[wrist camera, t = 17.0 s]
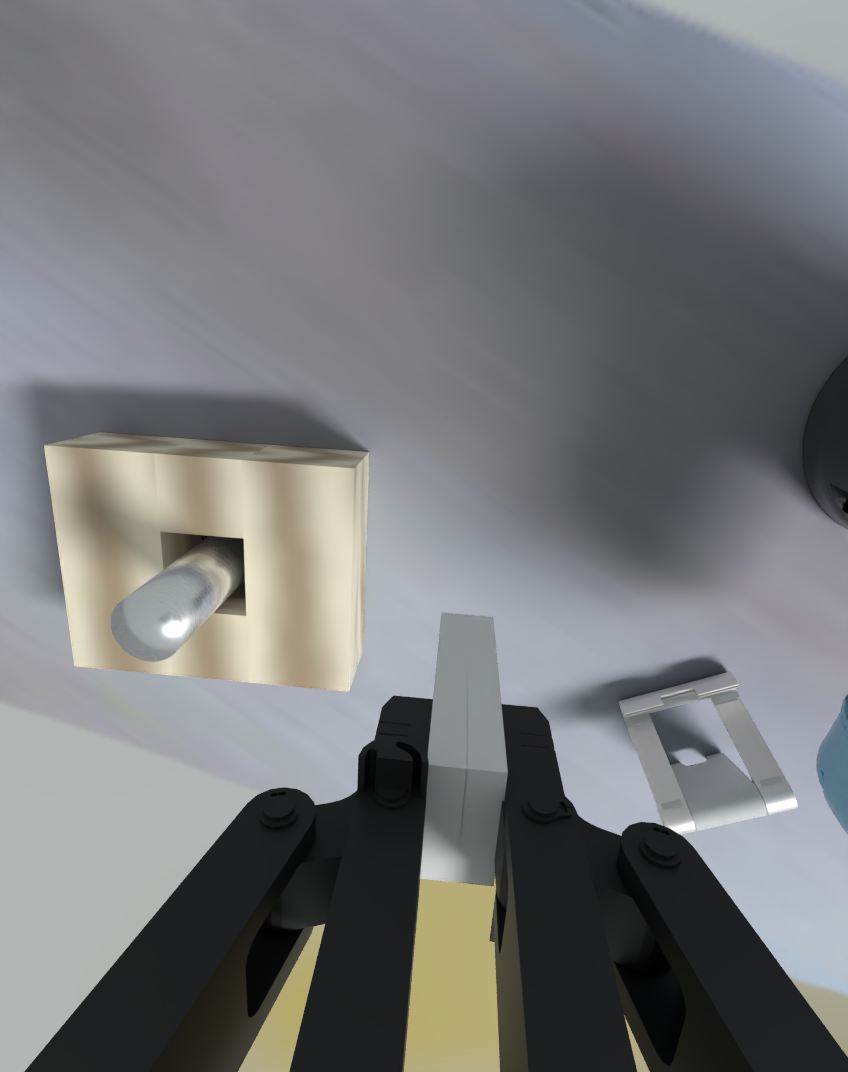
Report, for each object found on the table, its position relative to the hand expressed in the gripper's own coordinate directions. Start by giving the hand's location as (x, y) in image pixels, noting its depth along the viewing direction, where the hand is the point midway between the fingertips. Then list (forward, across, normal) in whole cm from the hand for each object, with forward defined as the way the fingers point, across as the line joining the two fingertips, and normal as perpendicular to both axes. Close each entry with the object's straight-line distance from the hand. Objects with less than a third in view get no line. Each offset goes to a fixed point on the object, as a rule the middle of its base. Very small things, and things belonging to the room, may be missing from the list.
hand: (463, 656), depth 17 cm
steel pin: (+26, +17, +7) cm, 32 cm away
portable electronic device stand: (+27, -19, +19) cm, 38 cm away
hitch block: (+26, +17, +7) cm, 32 cm away
